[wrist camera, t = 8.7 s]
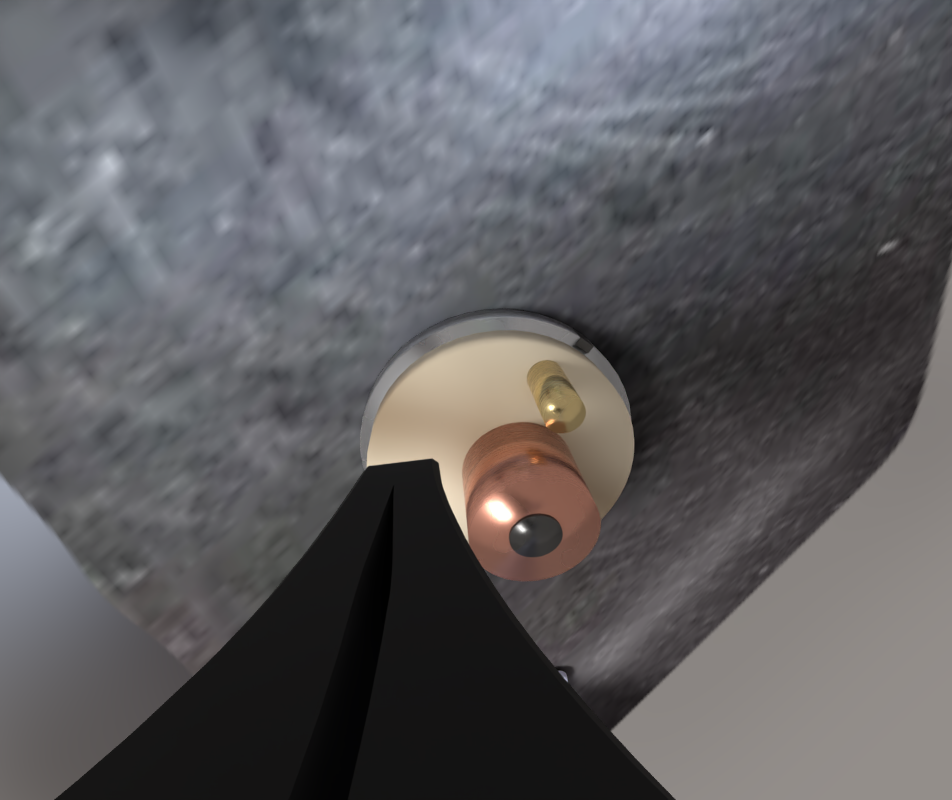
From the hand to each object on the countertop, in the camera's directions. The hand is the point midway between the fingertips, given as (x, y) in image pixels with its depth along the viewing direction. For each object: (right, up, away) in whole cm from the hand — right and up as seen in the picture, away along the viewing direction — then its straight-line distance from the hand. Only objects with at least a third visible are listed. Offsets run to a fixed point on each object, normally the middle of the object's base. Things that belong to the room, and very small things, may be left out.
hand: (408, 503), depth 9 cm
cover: (+3, -1, +8) cm, 8 cm away
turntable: (+2, 0, +9) cm, 9 cm away
